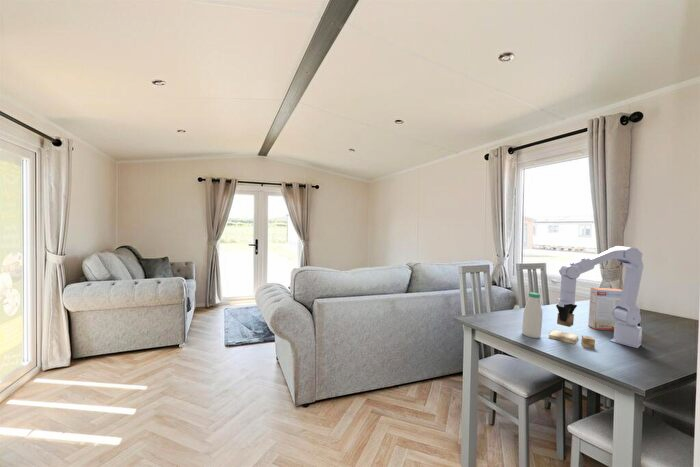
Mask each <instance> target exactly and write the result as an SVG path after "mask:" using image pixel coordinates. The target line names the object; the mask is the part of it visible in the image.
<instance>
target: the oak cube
mask: <svg viewBox="0 0 700 467" xmlns="http://www.w3.org/2000/svg"><path fill="white" fill-rule="evenodd" d="M580 344H581V346H582V348H587V349H593V350H595V348H596V347H595V346H596V345H595V344H596V339H595V338H594V337H593V336H589V335H582V334H581V343H580Z"/></svg>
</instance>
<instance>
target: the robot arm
mask: <svg viewBox="0 0 700 467" xmlns="http://www.w3.org/2000/svg"><path fill="white" fill-rule="evenodd" d="M642 257H643V252H641V250H640V249H638V248H636V247H633V246H631V247H630V246H622V245H615V246H614V247H610V248H608V250H605V251H603V252H601V253H599V254H597V255H595V256H593V257H590V258H589V257H583V256H582V257H580V259H579V260H577V261H574V262H573V261H572V262H570V264H563V265H562V266H561V267H560V269H559V270H558V272H559V275H560V276H561V278H560V291H559V297H558V298H556V301H558V304H556V305H555V306H556V309H557V311H558V313H559V316H560V321H564V322H566V320H567V317H568V313H570V314H574V312H575V310H576V308H577V307H578V305H577V304H576V287H577V279H578V278H579V277H580V275H581V274H585V273H586V272H589V271H591V270H594V269H595V266H597V265H599V264H602V263H605V262H608V261H610V260H616V261H618V262H621V264H622V265H623V266H625V269H626V270H625V274H624V279H623V284H622V289H621V290H622V294H621V299H620V301H619V302H617V303H616V304H615V307H614V309H613V310H612V316H613V317H614V321H615V328H614V331H613V338H611V339H610V342H612V343H615V344H620V345H625V346H628V347H631V348H636V349H639V347H640V346H641V345H642V338H643V327H642V326H639V324H640V322H642V317H641V309H640V308H639V306H638V305H637V300H638V297H639V296H638V294H639V290H640V284H641V280H642V275H643V269H644V263H643V259H642Z"/></svg>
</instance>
